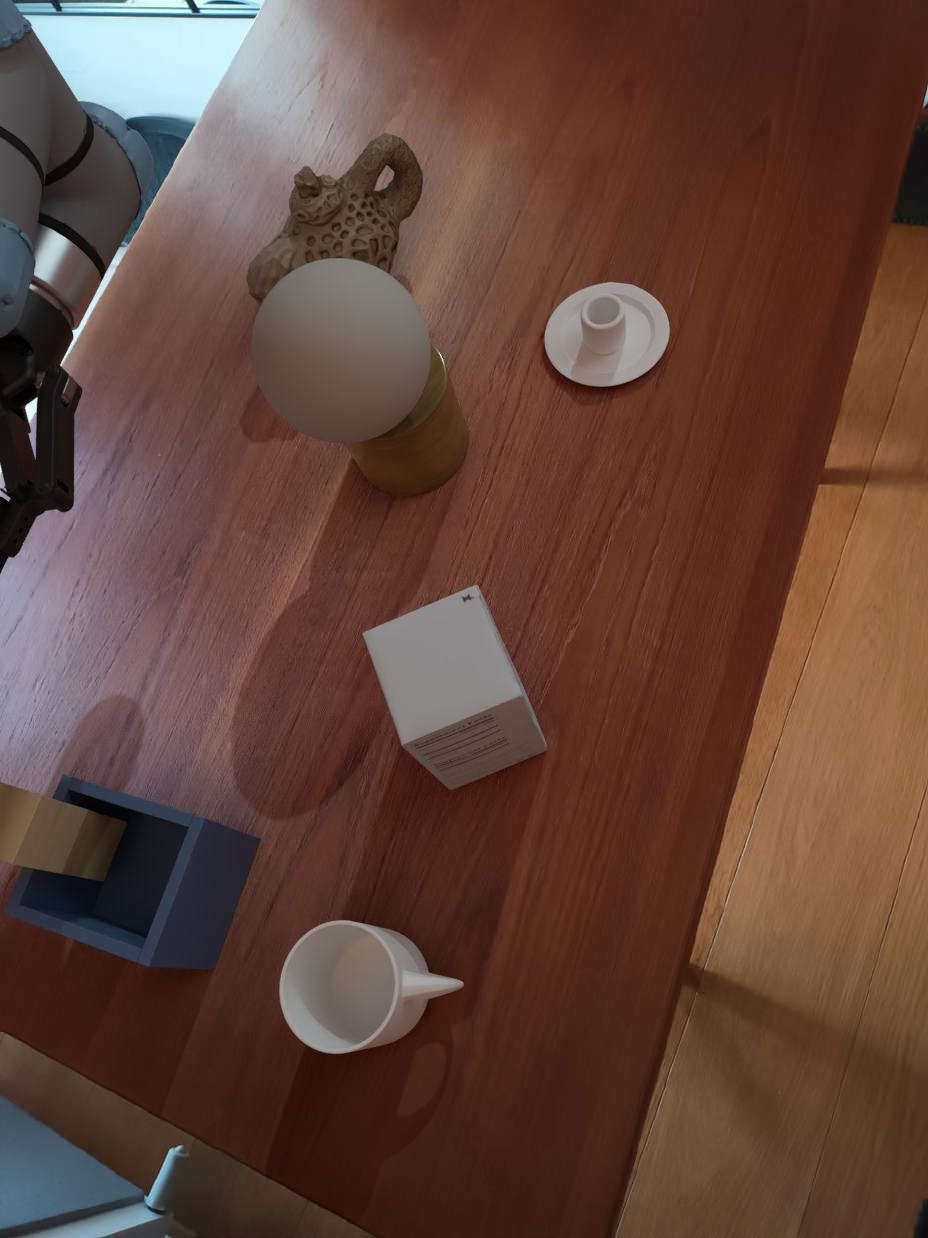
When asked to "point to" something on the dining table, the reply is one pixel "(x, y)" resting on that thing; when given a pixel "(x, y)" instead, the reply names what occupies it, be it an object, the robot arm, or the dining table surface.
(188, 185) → the dining table surface
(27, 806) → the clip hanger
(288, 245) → the teapot
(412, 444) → the lamp
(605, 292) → the candle holder
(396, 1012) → the mug
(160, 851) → the blue bin
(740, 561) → the dining table surface
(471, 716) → the supplement box
